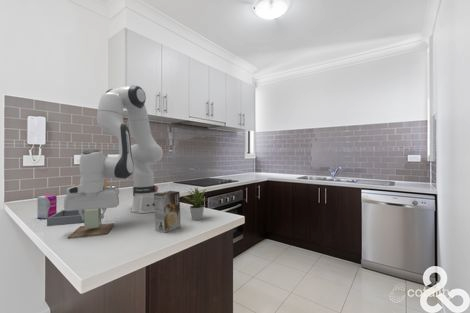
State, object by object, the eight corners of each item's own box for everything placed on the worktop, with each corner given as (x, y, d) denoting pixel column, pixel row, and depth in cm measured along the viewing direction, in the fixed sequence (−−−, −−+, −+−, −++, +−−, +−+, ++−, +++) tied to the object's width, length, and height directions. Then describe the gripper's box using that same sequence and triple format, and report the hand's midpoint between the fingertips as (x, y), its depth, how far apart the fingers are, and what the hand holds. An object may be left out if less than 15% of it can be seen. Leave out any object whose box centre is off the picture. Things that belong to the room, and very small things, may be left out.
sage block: (101, 223, 100) (101, 206, 100) (98, 227, 95) (97, 208, 95) (88, 225, 98) (88, 207, 98) (84, 228, 94) (84, 209, 93)
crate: (96, 213, 124) (96, 207, 124) (86, 222, 109) (86, 215, 109) (62, 216, 119) (62, 210, 119) (47, 225, 104) (46, 218, 104)
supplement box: (46, 219, 115) (45, 197, 115) (37, 218, 116) (36, 196, 116) (57, 216, 121) (56, 195, 120) (48, 215, 122) (48, 194, 122)
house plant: (199, 212, 124) (199, 183, 124) (217, 217, 115) (217, 185, 115) (178, 218, 113) (177, 186, 113) (196, 224, 104) (196, 189, 104)
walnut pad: (114, 224, 105) (114, 222, 105) (107, 234, 92) (107, 232, 92) (80, 227, 101) (80, 226, 101) (67, 238, 88) (67, 237, 88)
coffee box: (170, 224, 104) (170, 190, 104) (180, 226, 100) (180, 191, 100) (154, 230, 96) (153, 193, 96) (164, 233, 93) (163, 194, 92)
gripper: (120, 185, 103) (121, 214, 103) (68, 187, 96) (68, 219, 97) (117, 187, 97) (118, 218, 97) (61, 189, 90) (62, 223, 91)
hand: (93, 219), depth 97 cm, fingers closed on sage block, 5 cm apart
